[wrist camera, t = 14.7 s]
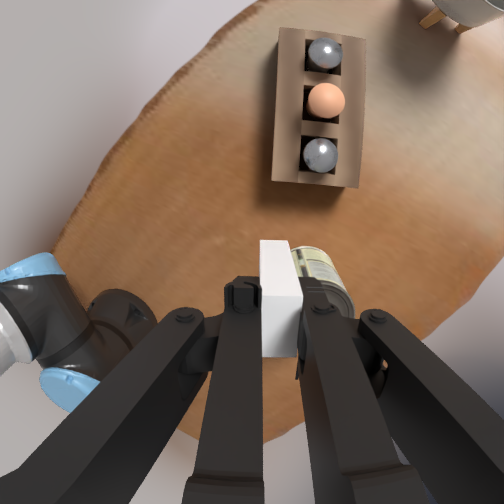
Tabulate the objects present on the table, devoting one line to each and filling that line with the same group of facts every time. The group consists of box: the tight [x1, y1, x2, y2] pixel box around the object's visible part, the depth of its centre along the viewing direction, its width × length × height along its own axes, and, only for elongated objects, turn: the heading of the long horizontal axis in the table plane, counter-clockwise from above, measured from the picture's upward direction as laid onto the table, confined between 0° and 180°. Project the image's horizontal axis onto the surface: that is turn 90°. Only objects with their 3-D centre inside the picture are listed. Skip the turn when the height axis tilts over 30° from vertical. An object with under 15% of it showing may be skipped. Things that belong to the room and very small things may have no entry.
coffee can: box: [290, 246, 355, 319], centre depth 45 cm, size 10×10×14 cm
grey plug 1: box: [306, 38, 343, 73], centre depth 35 cm, size 4×4×7 cm
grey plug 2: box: [302, 138, 338, 173], centre depth 40 cm, size 4×4×7 cm
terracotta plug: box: [306, 83, 345, 118], centre depth 36 cm, size 4×4×7 cm
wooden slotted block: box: [271, 27, 366, 188], centre depth 39 cm, size 12×22×6 cm, turn 177°
